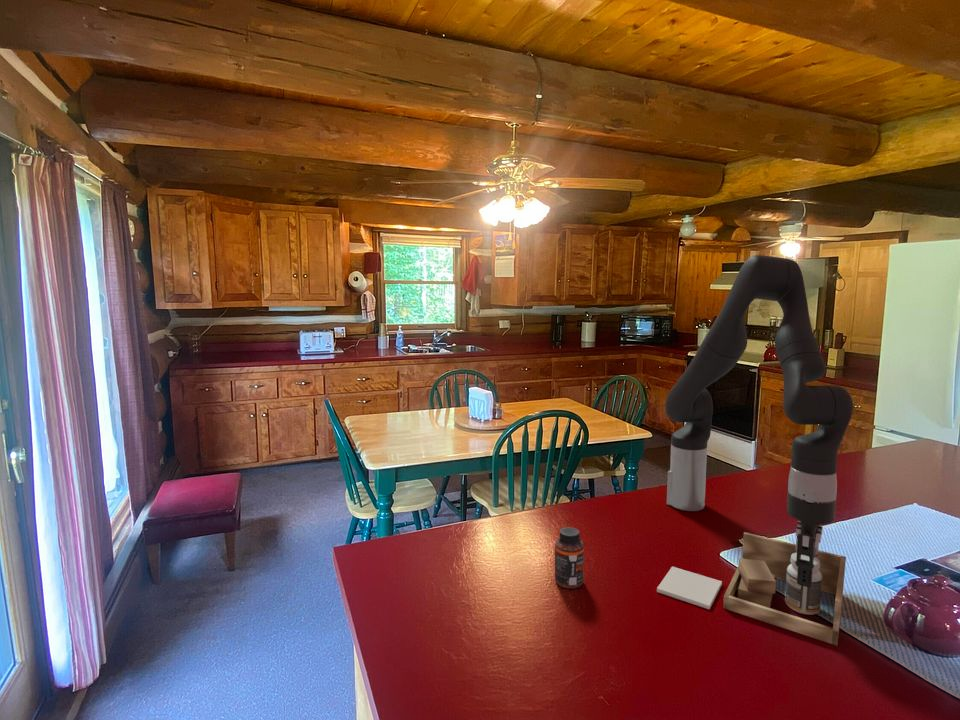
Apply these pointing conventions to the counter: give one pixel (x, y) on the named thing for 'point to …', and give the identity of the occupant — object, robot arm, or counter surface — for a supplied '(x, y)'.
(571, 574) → the supplement bottle
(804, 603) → the pill bottle
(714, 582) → the tile
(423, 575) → the counter surface
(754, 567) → the offcut block upper
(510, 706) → the counter surface
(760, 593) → the offcut block lower
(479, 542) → the counter surface
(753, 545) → the wooden box frame
